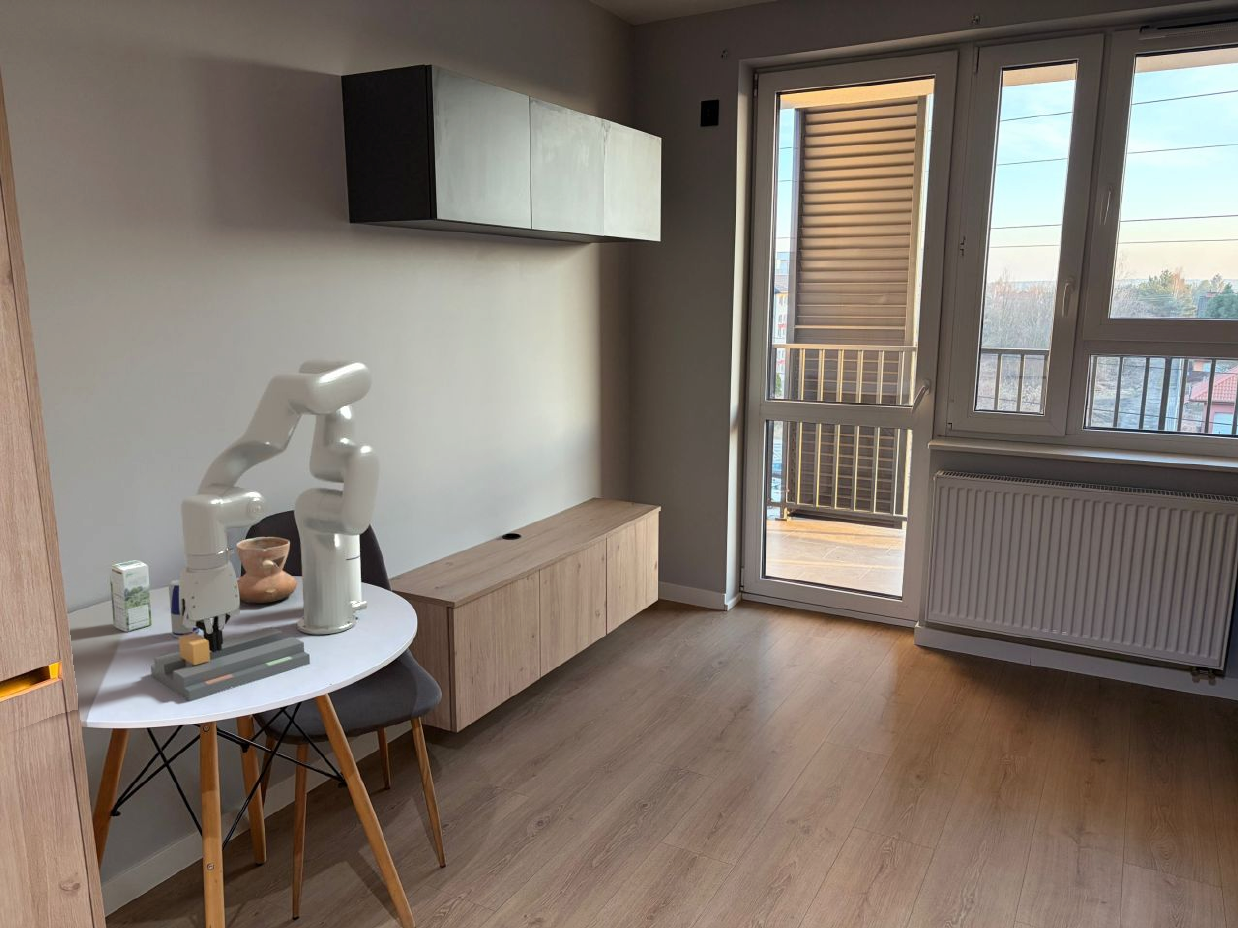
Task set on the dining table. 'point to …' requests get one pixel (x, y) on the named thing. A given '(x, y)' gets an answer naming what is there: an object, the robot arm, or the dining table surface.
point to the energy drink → (178, 612)
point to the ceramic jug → (264, 570)
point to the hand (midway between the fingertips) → (214, 649)
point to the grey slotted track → (232, 663)
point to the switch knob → (194, 649)
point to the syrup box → (130, 595)
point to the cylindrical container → (353, 567)
